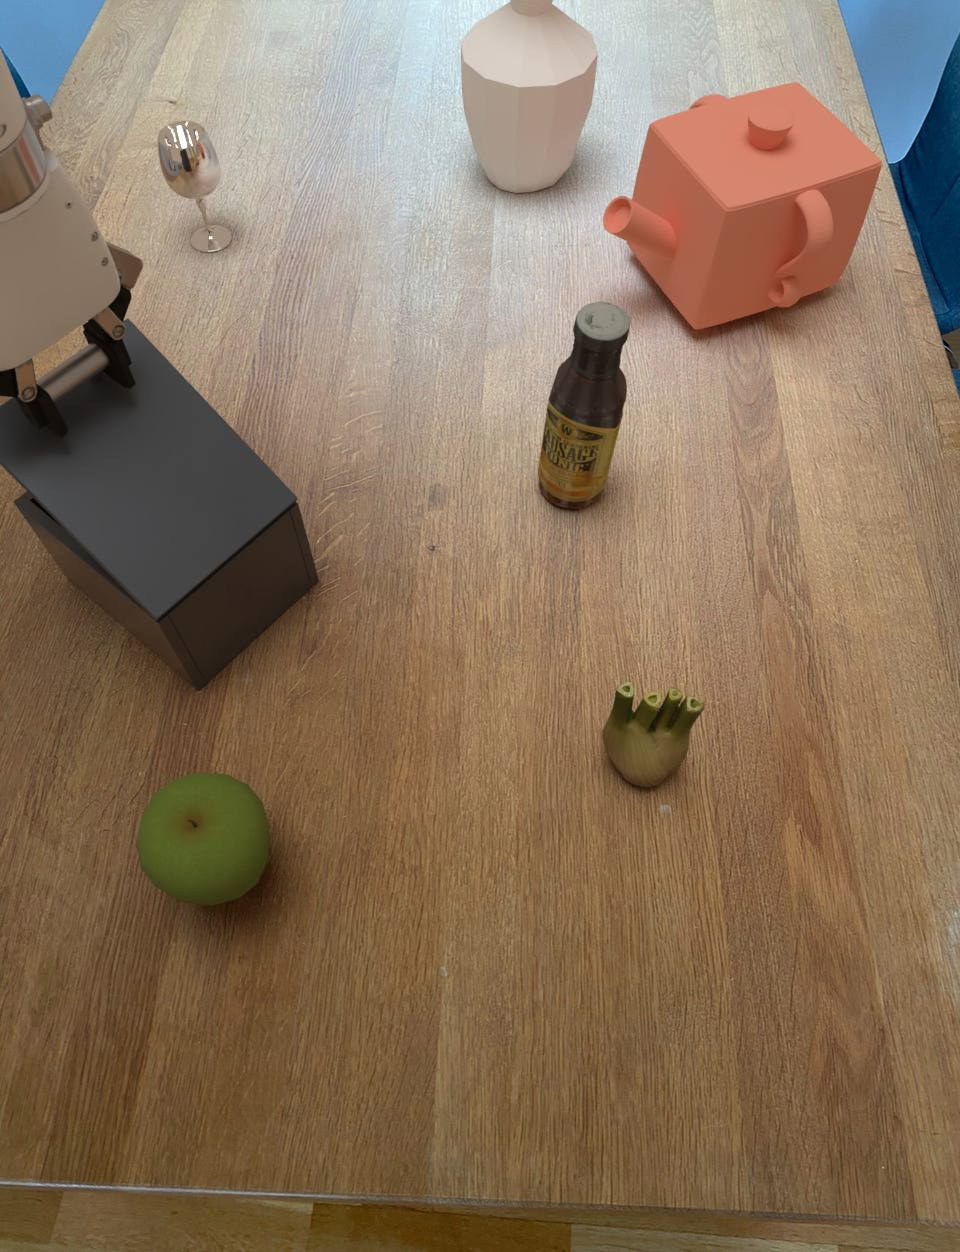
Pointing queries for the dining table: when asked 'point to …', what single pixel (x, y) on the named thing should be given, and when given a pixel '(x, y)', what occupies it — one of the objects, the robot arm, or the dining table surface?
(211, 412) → the lid
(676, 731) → the fennel bulb
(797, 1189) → the dining table surface
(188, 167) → the wineglass
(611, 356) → the sauce bottle
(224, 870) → the apple
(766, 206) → the teapot
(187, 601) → the chest
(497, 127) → the vase
